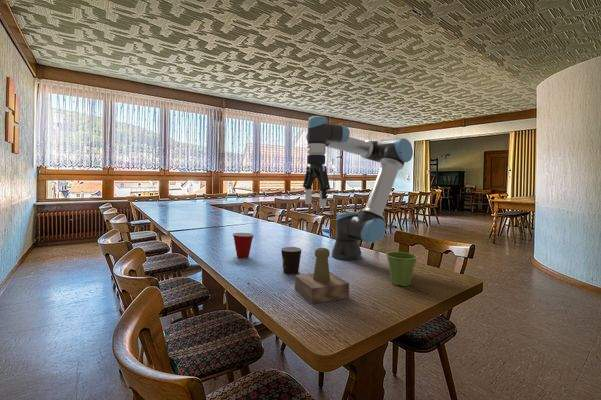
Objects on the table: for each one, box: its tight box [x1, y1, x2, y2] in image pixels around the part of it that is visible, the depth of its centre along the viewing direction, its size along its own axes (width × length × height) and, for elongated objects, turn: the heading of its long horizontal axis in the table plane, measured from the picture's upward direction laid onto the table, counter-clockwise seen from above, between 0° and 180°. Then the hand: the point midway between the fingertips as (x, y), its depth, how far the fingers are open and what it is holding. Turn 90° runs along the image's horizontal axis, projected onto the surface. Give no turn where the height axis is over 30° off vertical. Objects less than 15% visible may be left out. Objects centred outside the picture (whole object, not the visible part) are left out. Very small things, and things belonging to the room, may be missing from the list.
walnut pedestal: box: [294, 271, 350, 304], centre depth 108 cm, size 14×14×5 cm
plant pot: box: [385, 251, 419, 287], centre depth 120 cm, size 12×12×11 cm
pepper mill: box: [313, 247, 331, 282], centre depth 107 cm, size 6×6×11 cm
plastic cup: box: [232, 232, 255, 259], centre depth 154 cm, size 11×11×12 cm
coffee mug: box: [280, 246, 303, 275], centre depth 132 cm, size 12×9×10 cm
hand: (315, 205), depth 129 cm, fingers open, 13 cm apart
